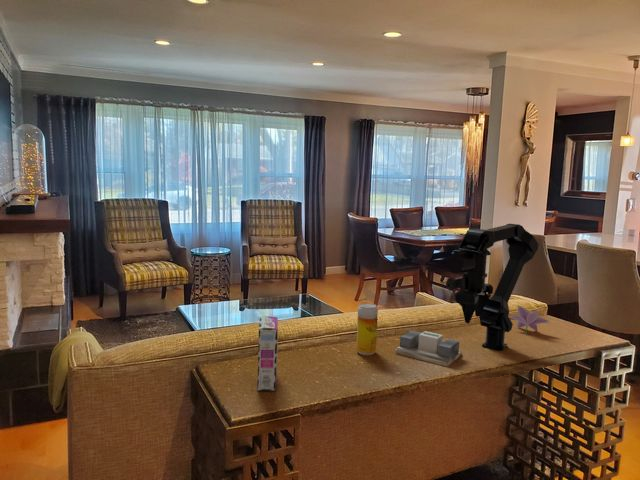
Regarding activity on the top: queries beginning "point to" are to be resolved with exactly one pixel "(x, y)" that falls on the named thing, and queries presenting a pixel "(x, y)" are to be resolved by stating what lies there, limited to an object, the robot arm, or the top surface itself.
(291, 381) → the top surface
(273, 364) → the candy bar box
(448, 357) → the rail board
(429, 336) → the module block
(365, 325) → the beer can
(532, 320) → the lily
